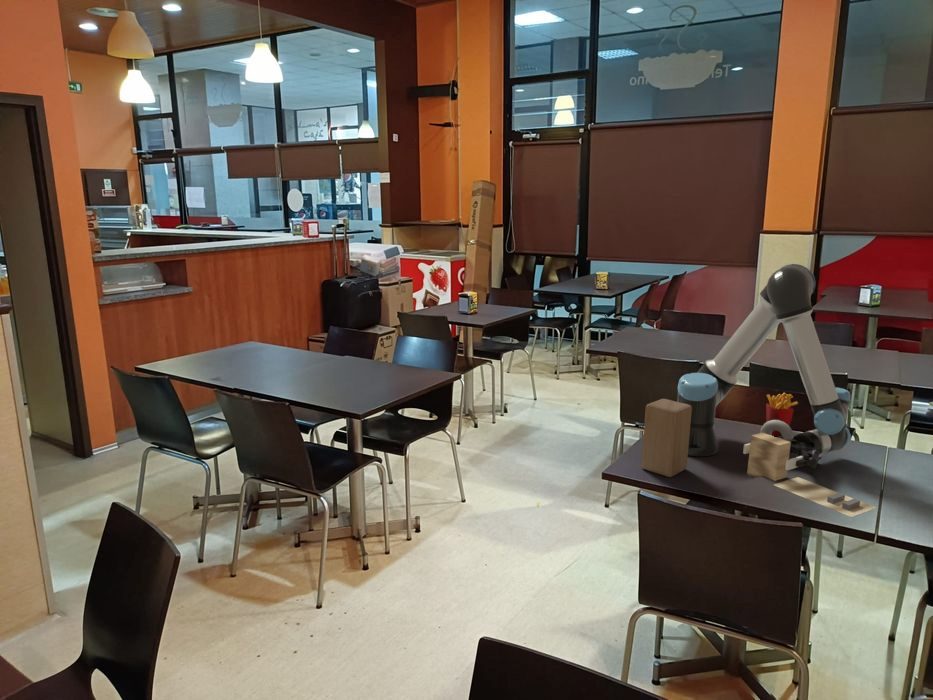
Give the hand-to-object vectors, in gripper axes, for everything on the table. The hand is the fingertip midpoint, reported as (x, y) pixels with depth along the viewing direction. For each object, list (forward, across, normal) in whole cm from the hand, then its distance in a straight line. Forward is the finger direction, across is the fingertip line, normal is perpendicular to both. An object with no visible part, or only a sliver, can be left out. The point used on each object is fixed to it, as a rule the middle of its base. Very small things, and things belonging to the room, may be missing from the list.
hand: (765, 457), depth 192 cm
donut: (-24, +13, -7) cm, 28 cm away
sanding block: (-2, 0, -7) cm, 7 cm away
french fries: (-38, +21, -7) cm, 44 cm away
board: (-2, -17, -7) cm, 18 cm away
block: (+19, +19, -7) cm, 28 cm away
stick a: (-2, -20, -5) cm, 21 cm away
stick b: (-2, -24, -5) cm, 25 cm away
